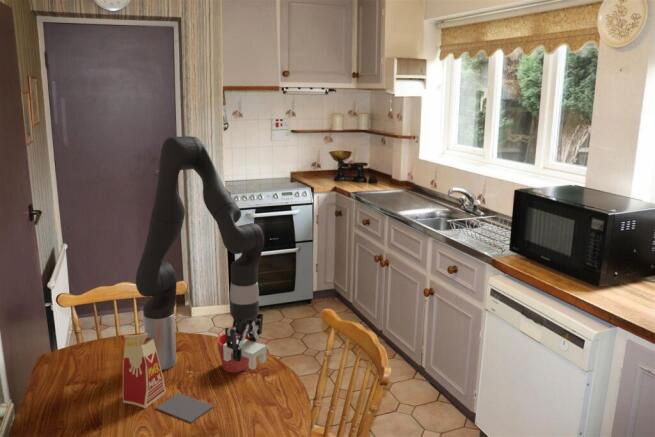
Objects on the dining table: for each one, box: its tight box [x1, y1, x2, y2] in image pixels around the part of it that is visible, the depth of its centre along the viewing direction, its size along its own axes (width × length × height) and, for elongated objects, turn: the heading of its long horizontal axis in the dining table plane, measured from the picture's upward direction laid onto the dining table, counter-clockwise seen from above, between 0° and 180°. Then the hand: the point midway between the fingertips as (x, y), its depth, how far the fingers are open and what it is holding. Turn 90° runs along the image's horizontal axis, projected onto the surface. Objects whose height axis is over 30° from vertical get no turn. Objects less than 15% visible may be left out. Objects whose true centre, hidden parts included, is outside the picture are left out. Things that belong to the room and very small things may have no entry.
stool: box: [223, 339, 267, 371], centre depth 156 cm, size 5×6×10 cm
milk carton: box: [122, 333, 167, 409], centre depth 161 cm, size 9×9×20 cm
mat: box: [154, 392, 215, 424], centre depth 158 cm, size 13×9×1 cm
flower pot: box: [216, 333, 250, 373], centre depth 181 cm, size 11×11×10 cm
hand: (244, 355), depth 157 cm, fingers closed on stool, 6 cm apart
